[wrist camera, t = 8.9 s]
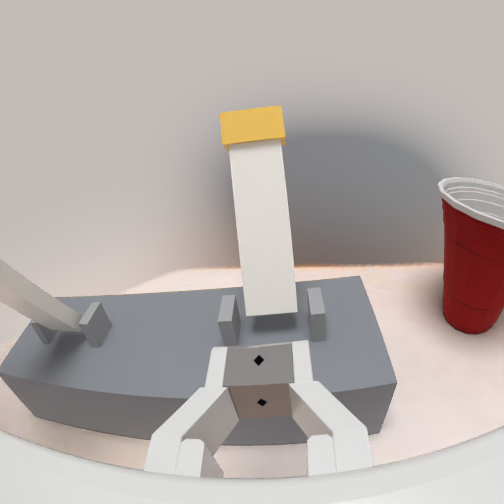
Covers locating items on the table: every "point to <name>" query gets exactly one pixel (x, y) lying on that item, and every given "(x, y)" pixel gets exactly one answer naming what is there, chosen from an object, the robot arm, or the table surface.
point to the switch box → (195, 357)
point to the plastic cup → (473, 253)
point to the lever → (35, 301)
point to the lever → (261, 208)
